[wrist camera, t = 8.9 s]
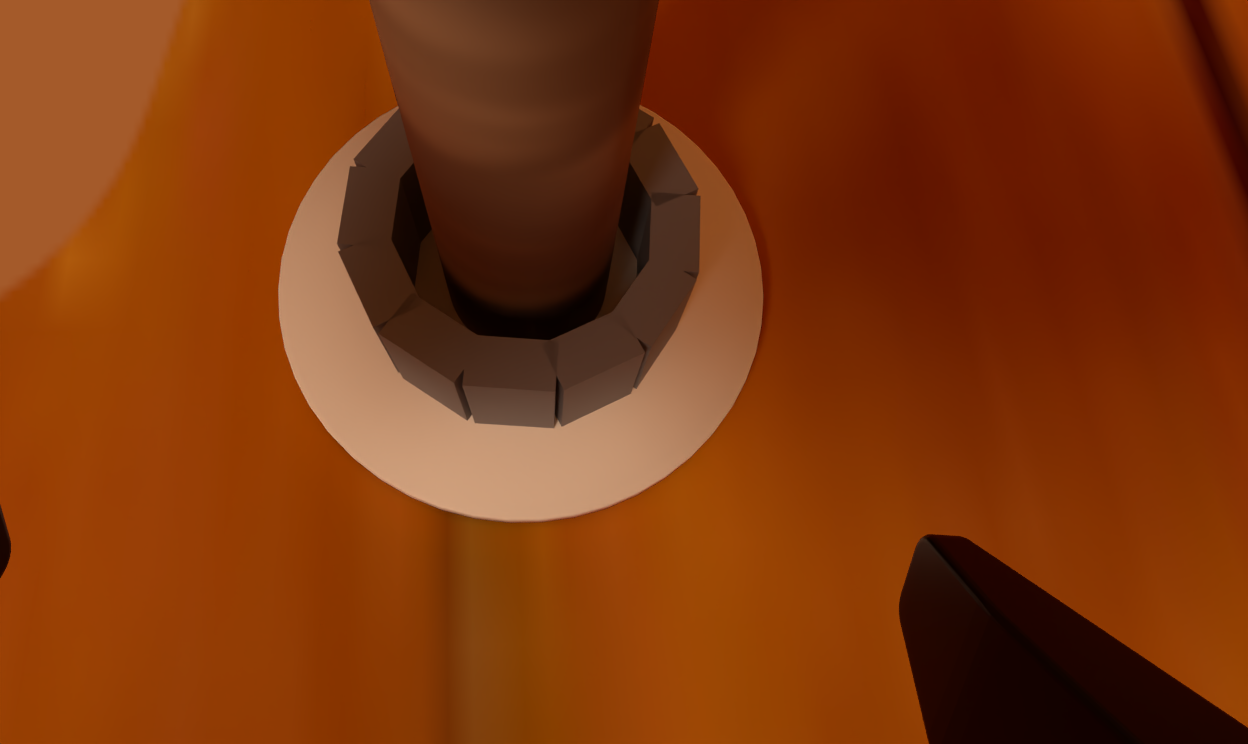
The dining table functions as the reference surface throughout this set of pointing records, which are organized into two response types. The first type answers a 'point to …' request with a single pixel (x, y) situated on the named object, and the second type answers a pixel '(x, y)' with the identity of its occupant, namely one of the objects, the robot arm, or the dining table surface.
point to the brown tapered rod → (520, 146)
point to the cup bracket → (516, 367)
